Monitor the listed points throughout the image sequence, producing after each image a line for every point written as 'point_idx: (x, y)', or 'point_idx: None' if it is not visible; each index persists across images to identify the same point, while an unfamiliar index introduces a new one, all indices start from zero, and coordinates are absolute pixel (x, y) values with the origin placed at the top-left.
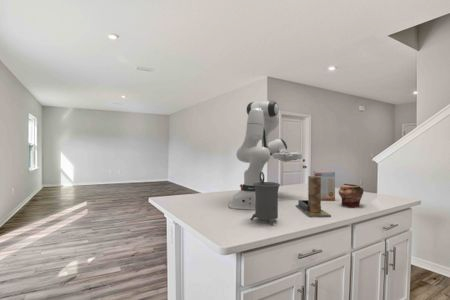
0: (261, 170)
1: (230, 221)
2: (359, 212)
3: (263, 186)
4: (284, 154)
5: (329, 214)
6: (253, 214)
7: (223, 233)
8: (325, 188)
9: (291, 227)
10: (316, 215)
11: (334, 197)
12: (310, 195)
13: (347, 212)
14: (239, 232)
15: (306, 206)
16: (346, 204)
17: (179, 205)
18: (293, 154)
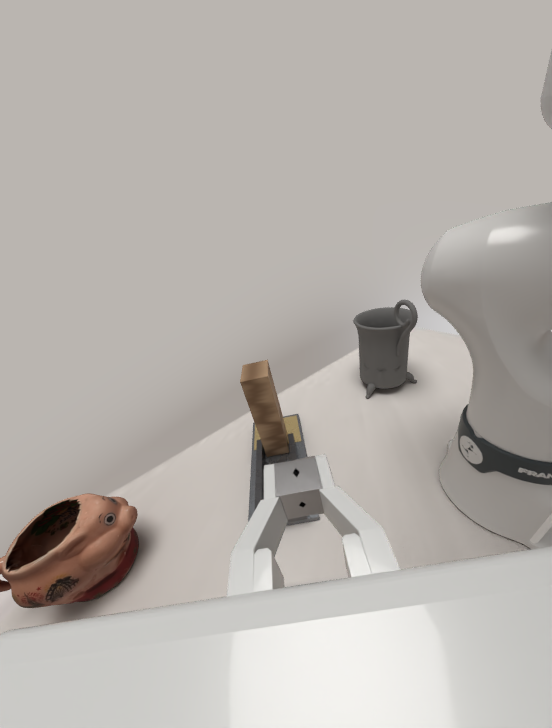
0: (470, 355)
1: (448, 367)
2: (163, 474)
3: (382, 309)
4: (413, 568)
5: (253, 428)
6: (410, 373)
7: (423, 340)
8: None
9: (336, 371)
10: (283, 417)
11: None
12: (279, 409)
13: (192, 469)
14: None
15: (293, 437)
16: (135, 535)
17: None
18: (184, 607)
